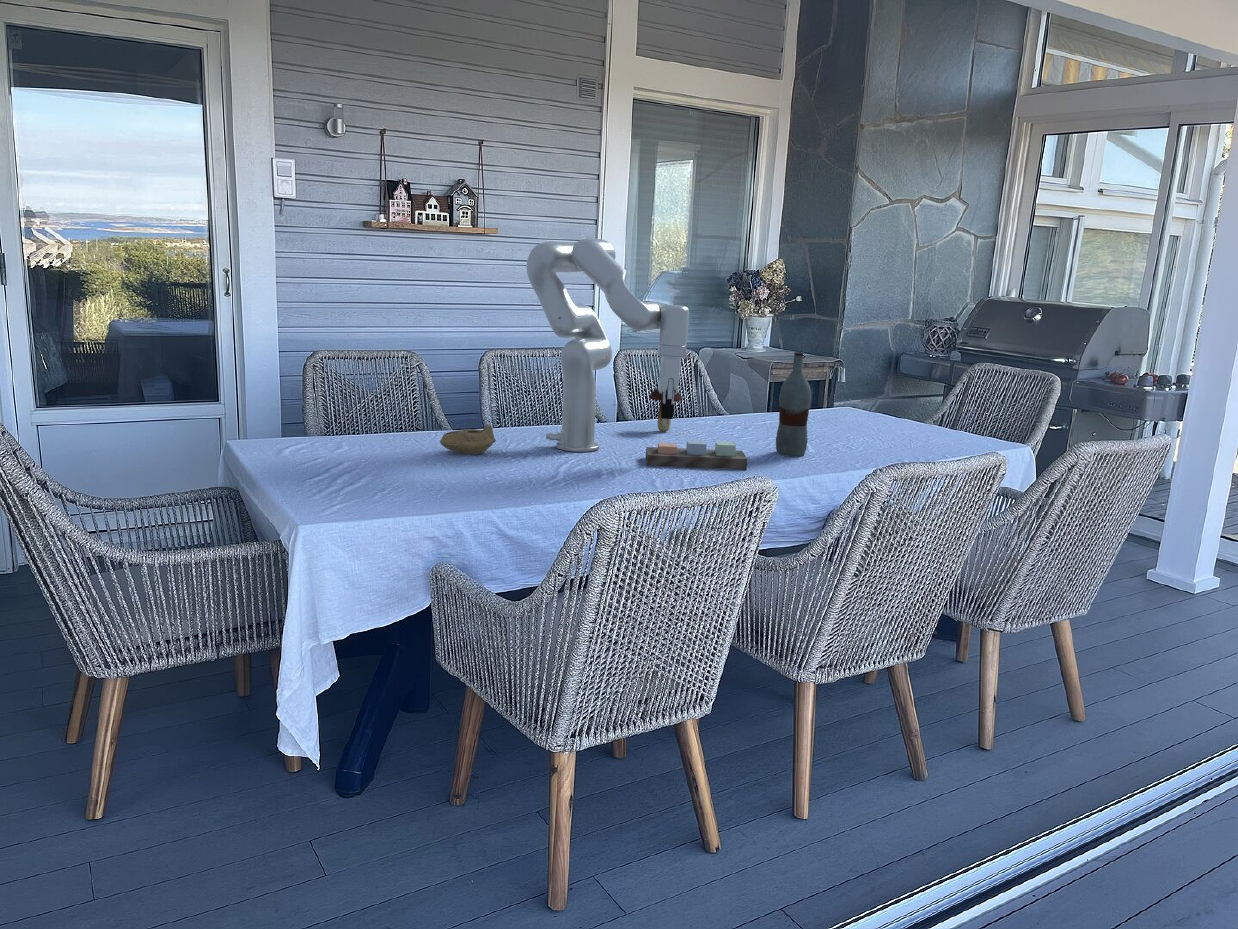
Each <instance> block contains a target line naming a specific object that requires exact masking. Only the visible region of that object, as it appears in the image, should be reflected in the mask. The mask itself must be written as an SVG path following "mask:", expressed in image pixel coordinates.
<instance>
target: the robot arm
mask: <svg viewBox="0 0 1238 929" xmlns="http://www.w3.org/2000/svg"><path fill="white" fill-rule="evenodd" d="M577 272H583V273H584V274H585V275H586V276H587V277H588V278H589V279H590V281H592V282H593V283H594V284H595V285H596V286H597V287H598V288H599V289H600V290H601V291H602V292H603V293H604V298H605V299H606V302H607V303H608V305H609V306H608V307H609V308H610V310H612V311H613V313H614V314H615V315H616V316H617V317H618V318H619V319H620V320H621V321H622V322H623V323H624V324H625V325H626V326H628V327H629V328H630V329H633V330H635V331H649V330H650V331H651V330H652V331H653V330H659V335H658V336H659V338H658V348H657V350H658V351H657V356H658V357H659V358H660V357H661V358H660V364H659V373H658V374H659V376H658V385H657V388H658V390H659V393H660V394H662V392H663V403H662V407H661V418H662V419H671V420H672V419H673V418H674V407H675V404H674V402H675V401H674V394H675V395H676V394H677V392H679V391H678V390H679V384H680V376H681V366H682V365H681V364H682V360H683V359H686V356H687V344H688V334H689V332H688V331H689V321H690V310H689V307H687V306H685V305H681V304H680V305H679V304H667V303H663V302H659V301H641V300H639V299H638V298H637V297H636V295H634V294H633V293H632V292H631V291H630V290H629V288H628V287H627V285H626V283H625V282H626V280H627V276H628V272H627V270H626V269H625V268H624V267H623V266H622V265H621V264H620V263H619V262H618V261H617V260H616V251H615V249H614V247H613V245H612V244H611V243H610V242H609V241H608V240H605V239H602V238H601V239H600V238H583V239H580V240H578V241H576V242H566V241H565V242H563V241H544V242H541V243H538V244H536V245H535V246H534V247H532V249H531V250H530V252H529V254H528V256H527V261H526V274H527V278H528V280H529V283H530V285H531V287H532V289H533V291H534V293H535V295H536V296H537V299H538V301H539V302H540V305H541V307H542V310H543V312H544V314H545V316H546V319H547V321H548V323H549V326H550V328H551V330H552V331H553V332H552V333H554V334H555V335H556V336H557V337H560V338H563V339H564V338H565V339H566V338H567V339H568V338H575V339H571V340H570V341H567V343H566V344H564V345H563V347H562V349H561V353H560V365H561V371H562V372H561V374H562V405H561V406H562V409H561V416H562V417H561V430H560V431H559V432H556V433H553V432H546V433H545V435H546V437H545V440H548V441H557V442H556V443H555V447H556V449H559V450H562V451H566V452H574V453H575V452H579V453H582V452H584V453H585V452H595V451H598V450H599V449H600V444H599V443H598V442H596V441H595V426H596V400H597V384H596V379H595V375H594V371H598V370H602V369H604V368H607V367H608V366H609V365H610V363H611V362H612V358H613V350H612V346H611V344H610V341H609V339H608V337H607V334H606V332H605V330H604V328H603V326H602V324H601V321H600V319H599V317H598V314H597V313H596V312H595V311H594V309H593V308H592V307H590V306H588V305H586V304H583V303H574V301H573V300H572V298H571V296H570V294H569V292H568V291H569V290H568V289H567V287H566V286H565V284H564V282H563V281H562V280H561V279H560V278H559V277H558V275H557V273H577Z"/></svg>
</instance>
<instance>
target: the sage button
mask: <svg viewBox="0 0 1238 929" xmlns="http://www.w3.org/2000/svg"><path fill="white" fill-rule="evenodd" d="M736 445H737V444H735V442H734V441H719V440H715V445H714V450H715V455H716V456H735V451H737V450H736V448H737V446H736Z"/></svg>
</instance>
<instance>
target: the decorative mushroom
mask: <svg viewBox="0 0 1238 929" xmlns="http://www.w3.org/2000/svg"><path fill="white" fill-rule="evenodd" d="M682 396H683V395H681V393H680V392H679V391H678V392H677V394H676V395H675V394H674V402H680V401H681V402H682V401H683V399H684V398H683V397H682ZM648 399H650V400H654V401H660V403H659V407H658V414H657V422H656V423H657V429H658V430H659V432H663V433H665V432H668V431H669V430H670V429H671V420H672V419H662V418H661V407H662V403H663V392H662V394H660V393H659V390H658V387H657V388H655V389H654V390H653V391H652V392H650V394H649V396H648Z"/></svg>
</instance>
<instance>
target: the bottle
mask: <svg viewBox="0 0 1238 929" xmlns="http://www.w3.org/2000/svg"><path fill="white" fill-rule="evenodd" d="M804 353H805V352H802V351H794V352H793V354H794V355H793V364H792V371H791V372H790V373H789V375H788V376H787V378H786V379H785V380H784V382H782V385H781V388H780V390H779V396H778V402H779V404H778V406H779V407H778V410H779V412H778V413H779V414H778V415H779V416H778V417H779V418H778V419H779V420H778V421H779V422H778V427H777V432H776V437H775V449H776V453H777V454H778V455H781V456H786V457H804V455H805V453H806V451H807V446H808V443H809V442H808V426H807V425H808V418H809V413H810V407H811V403H812V390H811V385H810V383H809V382H808V380H807V378H806V376H805V373H804V372H803V360H804Z"/></svg>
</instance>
